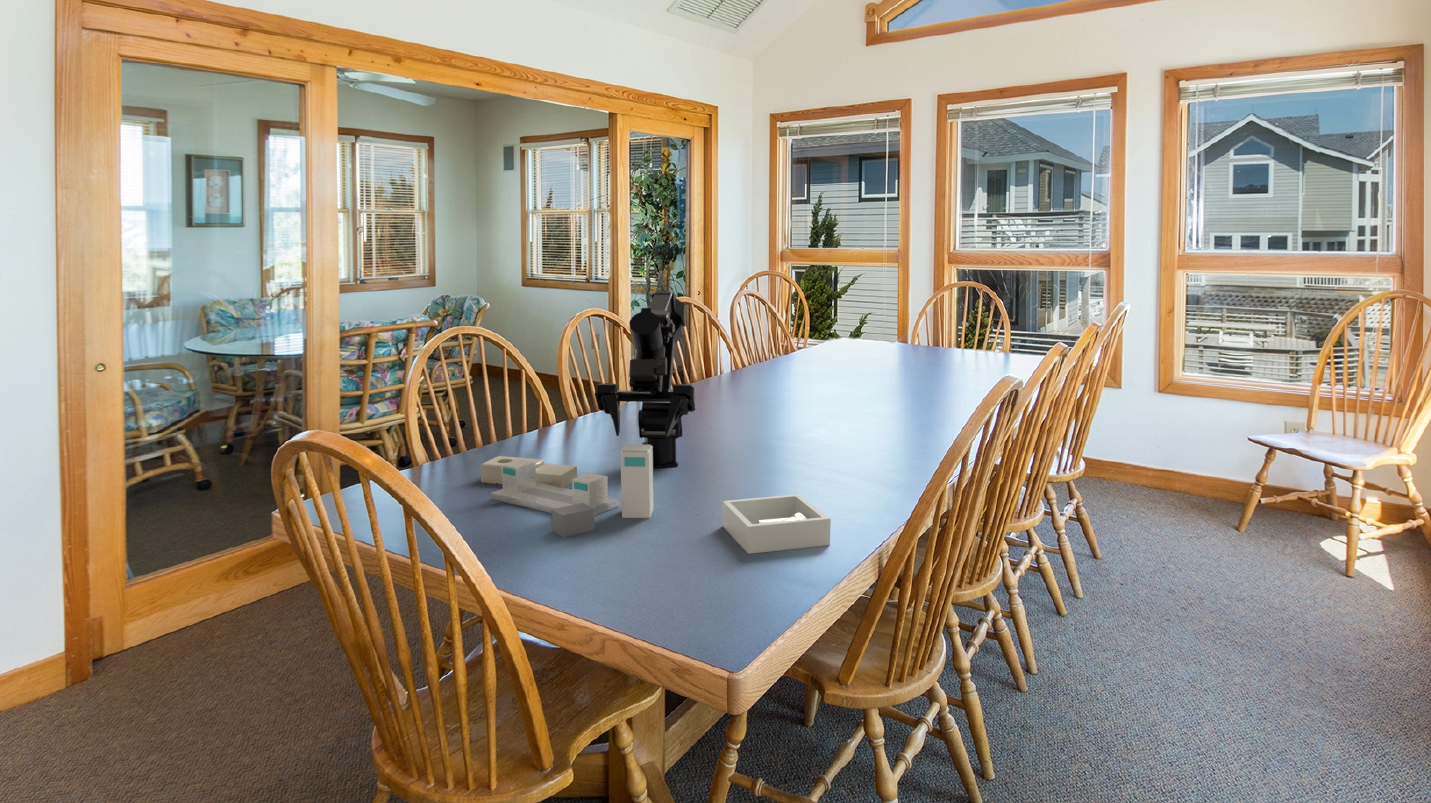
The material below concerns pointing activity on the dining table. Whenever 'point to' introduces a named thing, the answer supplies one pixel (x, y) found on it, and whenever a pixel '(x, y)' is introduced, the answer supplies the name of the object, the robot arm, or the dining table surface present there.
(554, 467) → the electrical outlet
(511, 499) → the rail plate
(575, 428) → the dining table surface
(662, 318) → the robot arm
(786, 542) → the parts tray
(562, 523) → the grey rectangular block
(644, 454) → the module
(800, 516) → the pipe fitting
